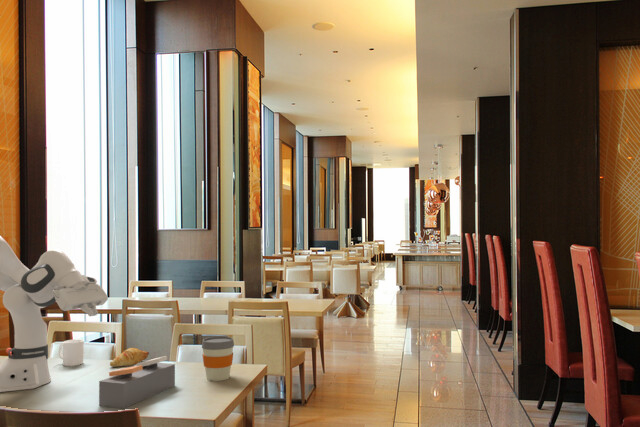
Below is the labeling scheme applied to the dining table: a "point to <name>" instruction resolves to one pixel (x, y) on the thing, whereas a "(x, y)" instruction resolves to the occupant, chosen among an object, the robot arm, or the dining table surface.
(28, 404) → the dining table surface
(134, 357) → the croissant
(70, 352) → the cup
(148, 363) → the rocker grey
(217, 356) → the reusable coffee cup
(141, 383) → the block
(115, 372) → the rocker orange
